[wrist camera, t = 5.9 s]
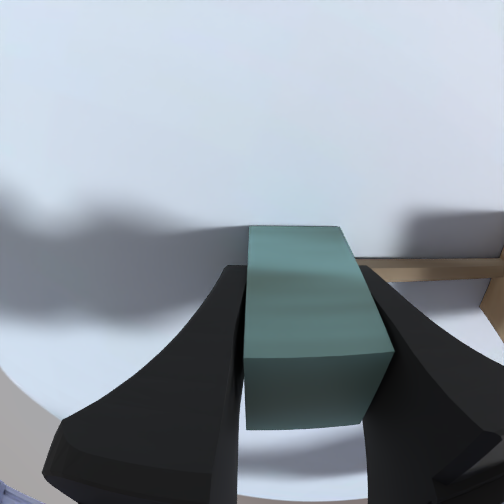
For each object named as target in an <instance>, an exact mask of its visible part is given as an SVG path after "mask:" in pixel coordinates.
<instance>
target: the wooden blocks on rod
mask: <svg viewBox="0 0 504 504" xmlns="http://www.w3.org/2000/svg"><path fill="white" fill-rule="evenodd" d="M358 265H367V266H368V267H369V268H371V269H372V270H373V271H374V272H376V273H377V274H378V275H379V276H380V277H381V278H382V279H384V280H385V281H386V282H410V281H437V280H460V279H480V278H492V279H491V281H490V284H489V286H488V288H487V291H486V293H485V295H484V298H483V300H482V302H481V304H480V306H479V307H480V308H481V310H482V311H483V312H484V314H485V315H486V317H487V318H488V320H489V321H490V323H491V324H492V326H493V327H494V329H495V330H496V332H497V333H498V335H499V336H500V338H501V339H502V341H503V343H504V247H503V250H502V253H501V255H500V258H467V259H355V258H354V255H353V253H352V251H351V249H350V247H349V245H348V243H347V241H346V239H345V237H344V235H343V233H342V230H341V228H340V227H317V226H249V245H248V267H247V289H246V311H245V334H244V357H243V359H244V386H245V411H246V430H293V429H312V428H326V427H337V426H347V425H356V424H360V423H361V421H362V419H363V417H364V415H365V413H366V411H367V409H368V408H369V406H370V404H371V402H372V400H373V398H374V396H375V393H376V391H377V389H378V387H379V385H380V383H381V381H382V379H383V377H384V374H385V372H386V370H387V368H388V365H389V363H390V361H391V359H392V356H393V354H394V352H395V351H394V348H393V346H392V343H391V341H390V338H389V336H388V333H387V331H386V328H385V326H384V323H383V321H382V319H381V316H380V314H379V311H378V309H377V307H376V304H375V302H374V300H373V297H372V295H371V293H370V291H369V288H368V286H367V284H366V282H365V279H364V277H363V275H362V273H361V271H360V268H359V266H358Z"/></svg>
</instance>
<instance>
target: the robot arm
mask: <svg viewBox="0 0 504 504" xmlns="http://www.w3.org/2000/svg"><path fill="white" fill-rule="evenodd" d="M358 266H359V268H360V271H361V273H362V275H363V277H364V279H365V282H366V284H367V286H368V288H369V291H370V293H371V295H372V297H373V300H374V302H375V304H376V307H377V309H378V311H379V314H380V316H381V319H382V321H383V323H384V326H385V328H386V331H387V333H388V336H389V338H390V341H391V343H392V346H393V348H394V351H395V352H394V354H393V356H392V359H391V361H390V363H389V365H388V368H387V370H386V372H385V374H384V377H383V379H382V381H381V383H380V385H379V387H378V389H377V391H376V393H375V396H374V398H373V400H372V402H371V404H370V406H369V408H368V409H367V411H366V413H365V415H364V417H363V419H362V421H363V429H364V437H365V447H366V458H367V475H368V504H504V366H503V365H501V364H499V363H497V362H495V361H493V360H491V359H489V358H487V357H486V356H484V355H482V354H481V353H479V352H477V351H475V350H474V349H472V348H470V347H469V346H467V345H465V344H464V343H462V342H461V341H459V340H458V339H456V338H455V337H453V336H452V335H451V334H449V333H448V332H446V331H445V330H443V329H442V328H441V327H439V326H438V325H437V324H435V323H434V322H433V321H432V320H430V319H429V318H428V317H427V316H425V315H424V314H423V313H421V312H420V311H419V310H418V309H417V308H415V307H414V306H413V305H412V304H411V303H410V302H408V301H407V300H406V299H405V298H404V297H403V296H402V295H400V294H399V293H398V292H397V291H396V290H395V289H394V288H393V287H391V286H390V285H389V284H388V283H387V282H386V281H385V280H384V279H382V278H381V277H380V276H379V275H378V274H377V273H376V272H374V271H373V270H372V269H371V268H369V267H368V266H367V265H358ZM247 267H248V265H228V266H227V267H225V268H224V270H223V272H222V274H221V276H220V278H219V279H218V281H217V283H216V284H215V286H214V287H213V289H212V291H211V292H210V294H209V295H208V296H207V298H206V299H205V301H204V302H203V304H202V305H201V306H200V308H199V309H198V310H197V312H196V313H195V314H194V315H193V317H192V318H191V319H190V320H189V322H188V323H187V324H186V325H185V326H184V328H183V329H182V330H181V331H180V332H179V333H178V334H177V336H176V337H175V338H174V339H173V340H172V341H171V342H170V343H169V344H168V345H167V346H166V347H165V348H164V349H163V350H162V351H161V352H160V353H159V354H158V355H157V356H155V357H154V358H153V359H152V360H151V361H150V362H149V363H148V364H146V365H145V366H144V367H143V368H142V369H141V370H139V371H138V372H137V373H136V374H135V375H133V376H132V377H131V378H129V379H128V380H126V381H125V382H124V383H122V384H121V385H120V386H118V387H117V388H115V389H114V390H113V391H111V392H110V393H108V394H107V395H105V396H104V397H102V398H101V399H99V400H98V401H96V402H94V403H92V404H91V405H89V406H87V407H85V408H84V409H82V410H80V411H78V412H76V413H75V414H73V415H71V416H69V417H67V418H65V419H63V420H62V421H61V424H60V426H59V428H58V430H57V432H56V434H55V436H54V439H53V441H52V444H51V447H50V450H49V453H48V456H47V458H46V461H45V464H44V467H43V471H42V474H43V476H44V478H45V479H46V480H47V482H49V483H50V484H51V485H52V486H54V487H55V488H57V489H58V490H60V491H61V492H63V493H64V494H65V495H67V496H68V497H70V498H71V499H73V500H74V501H76V502H78V504H237V469H238V433H239V412H240V403H241V395H242V388H243V381H244V359H243V357H244V334H245V311H246V289H247ZM0 504H45V503H43V502H41V501H38V500H36V499H34V498H32V497H29V496H27V495H25V494H23V493H21V492H19V491H17V490H15V489H13V488H11V487H9V486H7V485H5V484H4V482H3V481H1V480H0Z"/></svg>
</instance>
